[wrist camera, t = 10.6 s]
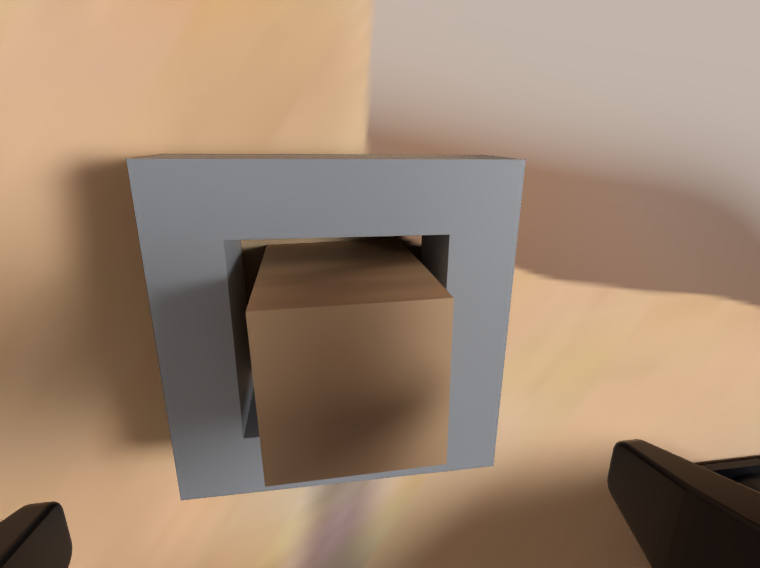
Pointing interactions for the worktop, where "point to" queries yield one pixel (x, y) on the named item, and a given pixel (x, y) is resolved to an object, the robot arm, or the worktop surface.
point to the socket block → (314, 220)
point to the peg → (349, 360)
